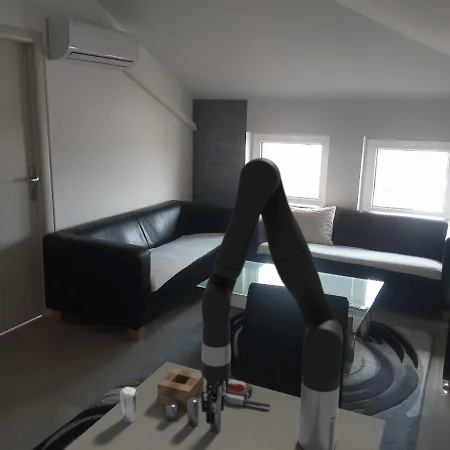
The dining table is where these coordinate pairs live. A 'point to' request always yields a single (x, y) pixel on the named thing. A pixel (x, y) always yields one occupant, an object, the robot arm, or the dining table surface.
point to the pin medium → (192, 412)
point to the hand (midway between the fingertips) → (215, 416)
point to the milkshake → (128, 403)
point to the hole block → (180, 387)
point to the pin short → (171, 411)
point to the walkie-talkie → (240, 394)
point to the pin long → (216, 417)
